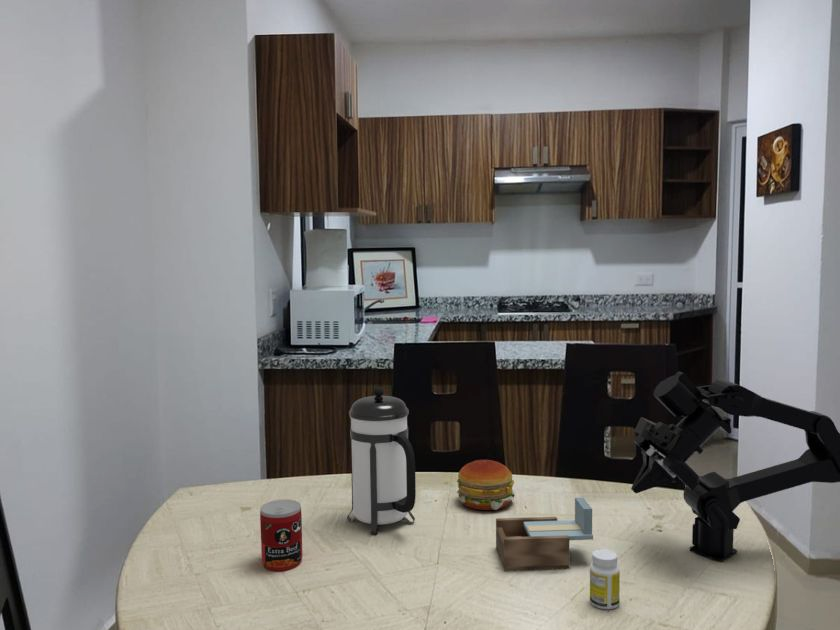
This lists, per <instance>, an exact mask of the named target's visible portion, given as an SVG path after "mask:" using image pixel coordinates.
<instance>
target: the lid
mask: <svg viewBox="0 0 840 630" xmlns="http://www.w3.org/2000/svg"><path fill="white" fill-rule="evenodd" d="M523 526H524V528H525V530H526V532H527V534H528V536H529V537H532V536H564V535H568V536H569V541H590V540H591V541H592V540H594V535H593V508H592V507H591V506H590V504H589V503H588V502H587V500H586V499H585V498H584V497H574V519H573V520H571V519H570V520H569V519H567V520H557V521H532V522H523Z"/></svg>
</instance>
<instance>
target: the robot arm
mask: <svg viewBox="0 0 840 630" xmlns="http://www.w3.org/2000/svg"><path fill="white" fill-rule="evenodd" d="M653 396H654V398H656V400H658V402H660V403H661V405H662V406H664V407H665V408H666V409H667V410H668V411H669V413H671V414H672V415H673V416H674V417H676V418H679V417H683V418H682V419H681V420H680V421H679V422H678V423H677V424H674V423H670V424H668V425H667V424H665V423H663V422H661V421H658V422H657V423H656V422H653V421H651V420H649V419H647V418H645V417H640V418H639V421H638V422H637V425H636V427H635V429H634V431H633V432H634V433H635V434H638V435H637V436H636V437H635V438H634V439H633V440H632V441H633V443H635V444H636V445H637V446H638V447H639V448H640V449H641V454H642V461H643V463H642V465H641V468H640V470H639V472H638V474H637V476H636V477H635V480H634V482H633V483H632V485H631V487H630V489H631V491H632V492H633V493H635V494H639V493H641V492H644V491H647V490H651V489H654V488H657V487H659V486H663V485H666V484H671V483H674V484H675V483H676V482H677V480H676V479H675V478H676V477H677V478H678V479H679V480H681V482H682V483H683V485H684V486H685V487H684V490H683V500H684V502H685V503H686V504H687V506H689V507H690V508H691V511H692V513H693V514H694V515H696V517H694V523H693V524H692V531H691V532H692V534H691V536H692V537H691V539H692V540H691V544H692V546H690V547H689V551H690V552H693V553H695V554H698V555H701V556H704V557H706V558H710V559H713V560H714V561H717V562H722V561H724V560H726V559H728V558H730V557H732V556H734V555H736V554H737V553H738V549H736V548H734V533H735V532H734V531H735V530H736V529H738V526H739V523H740V521H741V519H740V517H739V516H737V514H736V513H735V512H734V511H735V510H736V508H737V507H738V506H739V505H740V504H741V503H744V502H748V501H750V500H754V499H758V498H761V497H765V496H768V495H772V494H775V493H778V492H782V491H786V490H789V489H792V488H795V487H799V486H802V485H806V484H809V483H825V484H826V483H829V484H835V483H840V432H839V430H838V429H837V427H836V425H835V423H834V421H833V420H832V419H831V417H829V416H828V415H826V414H823V413H821V412H817V411H815V410H813V411H812V410H806V409H803V408H801V407H800V408H799V407H797V406H794V405H793V406H792V405H790V404H787V403H783V402H781V401H777V400H772V399H770V398H766V397H763V396H761V395H759V394H758V393H756V392H754V391H753V390H750V389H748V388H746V387H745V386H742V385H740V384H738V383H734V382H732V381H729V380H727V379H721V378H720V379H716V380H714V381H713V382H712V383H711V384H709V385H702V386H697V387H696V385H694V383H692V382H691V381H690V379H689V378H688V376H687V375H686V374H685V373H684V372H682V371H677V372H676V373H675V374H674V375H671V376H669V377H666V378H665V379H664V380H662V381H659V383H658V384H657V385H656V387H655V388H654V391H653ZM702 402H704V403H706V404H707V405H710V406H711V407H706V406H705V405H704V404H703V403H702ZM716 409H718V410H720V411H722V412H724V413H726V414H728V415H731V416H737V417H738V416H739V417H746V418H747V417H757V418H762V419H766V420H770V421H772V422H776V423H780V424H783V425H786V426H789V427H793V428H796V429H799V430H802V431H803V430H804V434H805V443H806V445H807V447H808V449H806V450H805V451H804V452H803V453H802V454H801V455H800V456H799V457H797V458H796V459H794V460H793V459H792V460H790V461H787V462H782V463H780V464H779V463H778V464H776V465H773V466H770V467H769V466H768V467H766V468H762V469H759V470H758V469H757V470H755V471H751V472H748V473H745V474H742V475H738V476H735V477H731V478H724V477H723V476H722V475H720V474H719V473H717V472H715V471H713V472H709V473H707V474H704V475H699V474H698V473H696V472H695V471H694V469H692V468H691V467H690V465H688V463H687V461H689V459H690V458H691V457H692V456H693V455H695V453H697V454H698V455H701V454H702V453H703V451H704V450H703V448H701V447H702V446H703V445H704V444H705V443H706V442H707V441H708V440H709V439H710V438H711V437H712V436H713V435H714V434H715V433H716V432H717V431H718V430H720V431H723V432H725V433H727V434H728V435H729V434H731V433H732V427H731V422H732V420H731V418H729V417H727V416H722V415H721V414H720V413H719V412H718V411H717V410H716Z"/></svg>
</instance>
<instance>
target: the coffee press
mask: <svg viewBox="0 0 840 630" xmlns="http://www.w3.org/2000/svg"><path fill="white" fill-rule="evenodd" d="M372 392H373V394H374V395H371V396H370V395H369V396H365V397H362V398H359V399H357V400H356V401H354V403H353V404H352V405H351V408H350V410H349V411H348V415H349V418H350V427H349V430H350V431H349V432H350V433H349V434H350V435H349V436H350V462H351V465H350V466H351V467H350V469H351V511H350V512H349V514H348V515H347V518H346V520H347V521H348V522H350V523H351V522H353V521H355V520H356V519H357V520H358V521H360V522H362V523H365V524H367V525H368V524H369V525H370V529H369V533H370V535H373V536H377V535H378V534H379V527H380V525H389V524H393V523H397V522H399V521H401V520H403V521H405V522H406V523H407V524H408V525H413V524H414V523H415V521H416V518H415V516H414V515H413V513H412V510H413V509H414V507H415V504H416V487H417V486H416V483H417V482H416V460H415V459H416V458H415V453H414V448H413V445H412V443H411V441H410V440H409V426H408V415H409V414H410V413H409V411H410V410H409V408H408V407H407V406H406V403H405V402H404V401H403V400H402V399H401V398H398V397H395V396H391V395H390V396H389V395H384V393H385V390H384V388H383V386H382V387H381V386H375V387H374V388H373V390H372ZM352 512H353V515H354V517H353V518H351V517H350V515H351V514H352ZM407 515H409V517H410V518H411V519H412V521H410V520H409V519H408V518H407V517H406V516H407Z"/></svg>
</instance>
